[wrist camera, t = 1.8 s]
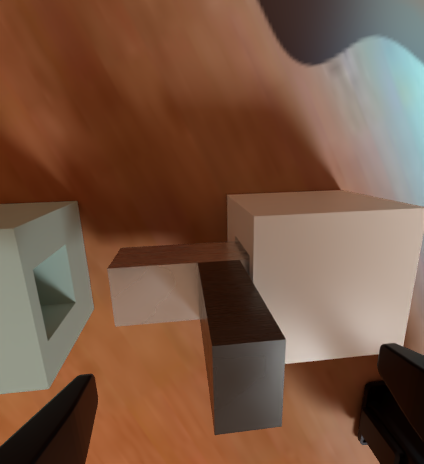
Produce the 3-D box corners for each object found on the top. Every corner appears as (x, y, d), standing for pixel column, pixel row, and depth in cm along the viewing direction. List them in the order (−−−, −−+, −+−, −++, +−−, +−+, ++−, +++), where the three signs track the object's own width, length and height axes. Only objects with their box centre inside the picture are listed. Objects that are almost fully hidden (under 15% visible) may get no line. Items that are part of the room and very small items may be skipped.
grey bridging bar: (372, 232, 17) (571, 311, 8) (366, 278, 18) (543, 392, 9) (120, 247, 16) (46, 362, 7) (126, 296, 16) (66, 454, 8)
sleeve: (341, 190, 19) (427, 207, 13) (331, 290, 21) (402, 351, 15) (226, 194, 18) (254, 216, 12) (228, 298, 20) (251, 367, 14)
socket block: (77, 200, 17) (13, 228, 11) (94, 308, 19) (48, 388, 13) (-17, 204, 17) (-147, 236, 10) (10, 315, 19) (-83, 402, 12)
